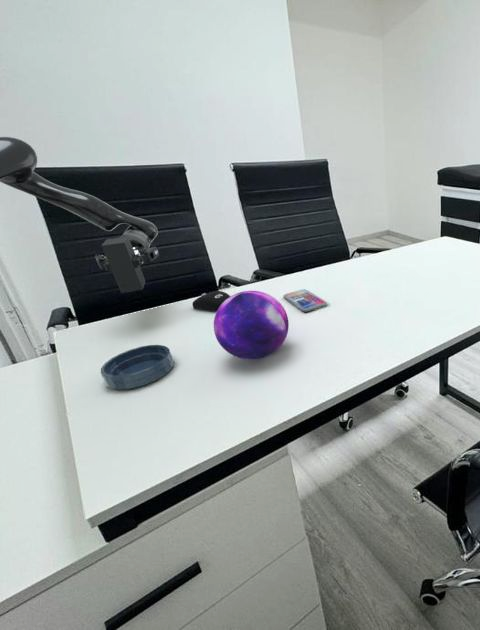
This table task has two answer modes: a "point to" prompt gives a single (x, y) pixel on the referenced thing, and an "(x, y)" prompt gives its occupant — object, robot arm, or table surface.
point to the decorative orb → (251, 325)
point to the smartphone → (305, 300)
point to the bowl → (137, 367)
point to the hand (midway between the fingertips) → (122, 265)
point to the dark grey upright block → (123, 264)
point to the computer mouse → (210, 301)
